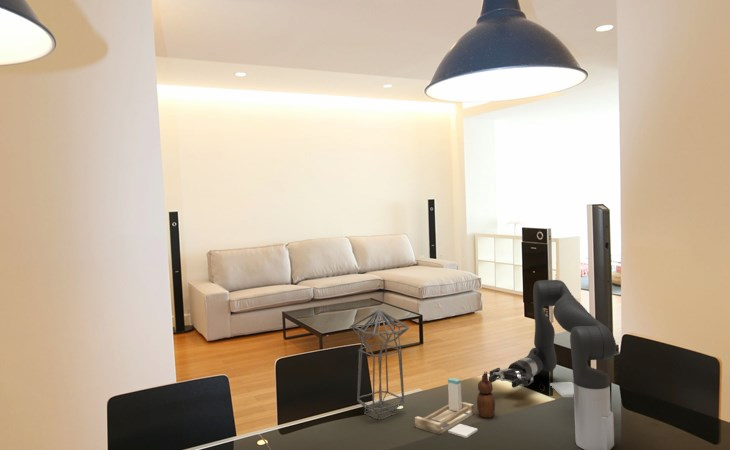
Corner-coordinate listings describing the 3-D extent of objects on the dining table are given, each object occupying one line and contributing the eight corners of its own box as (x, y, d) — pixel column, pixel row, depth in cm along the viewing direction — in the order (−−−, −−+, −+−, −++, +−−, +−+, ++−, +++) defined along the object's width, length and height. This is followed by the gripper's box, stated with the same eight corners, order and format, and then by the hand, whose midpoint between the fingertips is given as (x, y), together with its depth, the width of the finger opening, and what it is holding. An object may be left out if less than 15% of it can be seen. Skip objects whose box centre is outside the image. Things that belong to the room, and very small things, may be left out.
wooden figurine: (496, 420, 164) (494, 373, 163) (477, 419, 165) (475, 372, 165) (495, 411, 170) (493, 366, 170) (477, 411, 172) (475, 366, 171)
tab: (461, 410, 169) (460, 379, 169) (458, 411, 168) (457, 381, 168) (452, 407, 172) (451, 377, 171) (449, 409, 170) (447, 379, 170)
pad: (477, 430, 156) (477, 428, 156) (466, 438, 152) (466, 436, 152) (459, 425, 161) (459, 423, 161) (448, 432, 156) (447, 430, 156)
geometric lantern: (384, 401, 184) (382, 304, 183) (413, 415, 171) (412, 310, 170) (348, 412, 175) (346, 310, 174) (376, 428, 162) (374, 317, 161)
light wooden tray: (474, 413, 170) (473, 404, 170) (439, 434, 155) (438, 424, 155) (450, 407, 176) (450, 398, 176) (415, 427, 161) (414, 417, 161)
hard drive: (549, 382, 193) (563, 394, 180) (571, 381, 193) (586, 393, 181) (550, 387, 193) (563, 399, 180) (571, 385, 193) (586, 397, 181)
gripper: (504, 356, 192) (482, 367, 180) (541, 363, 182) (520, 375, 170) (505, 376, 192) (482, 389, 180) (542, 384, 182) (521, 397, 170)
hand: (501, 382), depth 175 cm, fingers open, 8 cm apart
